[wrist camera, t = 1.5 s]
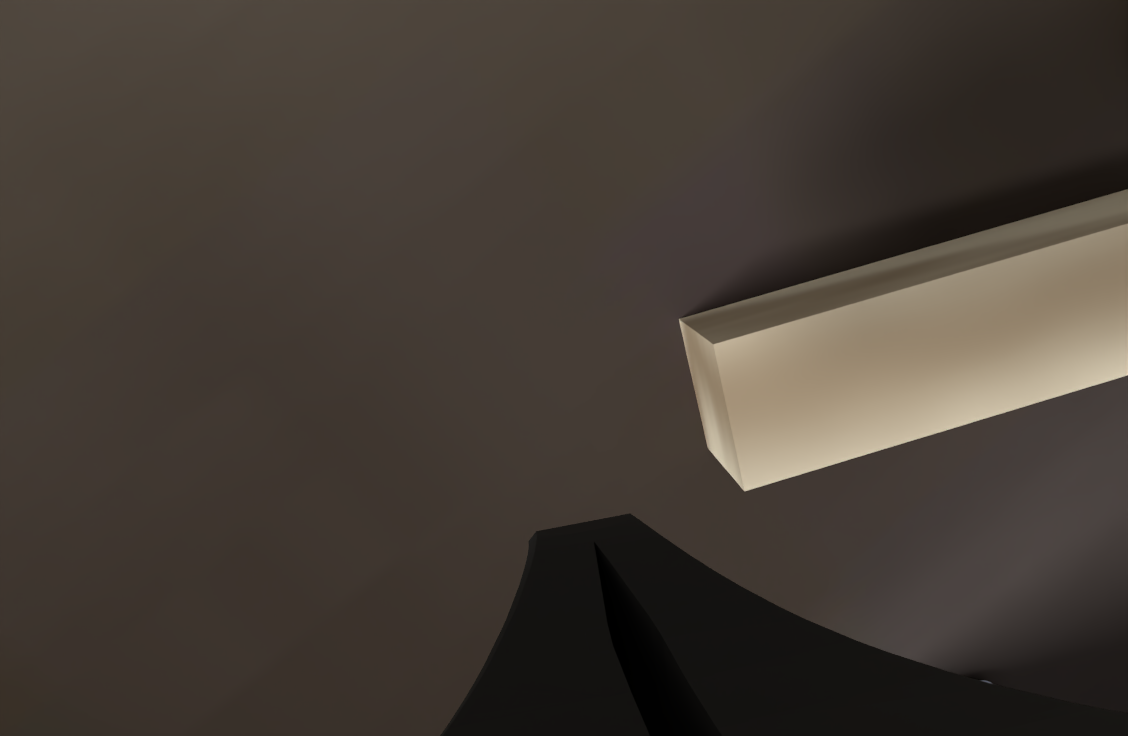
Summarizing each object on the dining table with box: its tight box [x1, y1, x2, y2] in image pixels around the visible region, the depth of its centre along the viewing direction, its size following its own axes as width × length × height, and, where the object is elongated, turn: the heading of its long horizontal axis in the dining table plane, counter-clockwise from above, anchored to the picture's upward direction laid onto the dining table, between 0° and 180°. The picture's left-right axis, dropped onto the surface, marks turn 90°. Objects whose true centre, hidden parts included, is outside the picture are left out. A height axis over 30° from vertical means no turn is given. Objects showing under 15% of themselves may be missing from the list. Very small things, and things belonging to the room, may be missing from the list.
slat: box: [679, 189, 1128, 491], centre depth 19 cm, size 4×12×3 cm, turn 105°
